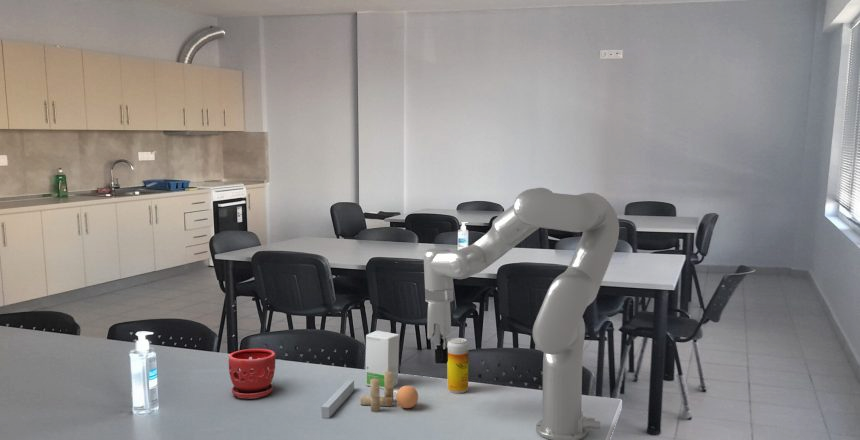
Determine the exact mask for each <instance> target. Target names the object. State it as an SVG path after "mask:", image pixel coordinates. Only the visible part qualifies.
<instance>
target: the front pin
mask: <svg viewBox="0 0 860 440" xmlns="http://www.w3.org/2000/svg"><path fill="white" fill-rule="evenodd" d="M393 403H394V398H393V399H392V397H385V396H380V407H392V406H393ZM360 405H362V406H371V395H370V396H368V395H361V396H360Z"/></svg>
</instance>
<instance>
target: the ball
mask: <svg viewBox="0 0 860 440" xmlns="http://www.w3.org/2000/svg"><path fill="white" fill-rule="evenodd" d="M395 396H396V397H395V399H396V402H397V404H398V406H400V407H401V408H402V409H403V408H404V409H411V408H413V407H415V406H416V404H417V403H418V400H419V393H418V391H417V390H416V388H415V387H413V386H411V385H404V386H401V387H400V388H398V390H397V392H396V395H395Z"/></svg>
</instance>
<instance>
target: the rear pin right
mask: <svg viewBox="0 0 860 440" xmlns="http://www.w3.org/2000/svg"><path fill="white" fill-rule="evenodd" d="M384 384H385V389H384V397H392V399H393V400H394V386H393V371H385V372H384Z"/></svg>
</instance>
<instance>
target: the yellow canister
mask: <svg viewBox="0 0 860 440" xmlns="http://www.w3.org/2000/svg"><path fill="white" fill-rule="evenodd" d="M447 347H448V362H447V363H446V364H447V365H446V367H447V369H446V371H447V375H446V376H447V378H446V379H447V381H446V383H447V384H446V385H447V386H446V388H447V389H448V391H449V392H450V393H451V394H464V393H466V392H467V390H468V389H469V343H468V340H467V339H466V338H464V337H463V338H462V337H453V338H449V339H448V341H447Z"/></svg>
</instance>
